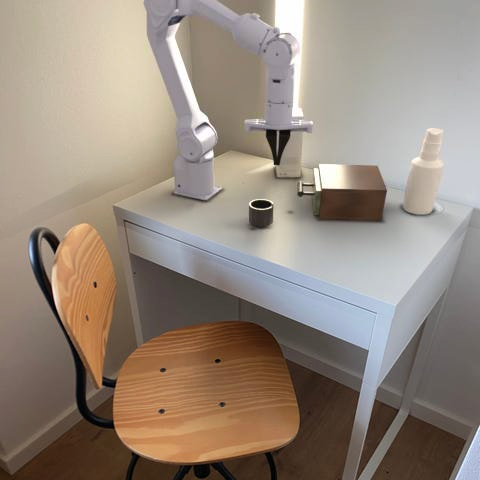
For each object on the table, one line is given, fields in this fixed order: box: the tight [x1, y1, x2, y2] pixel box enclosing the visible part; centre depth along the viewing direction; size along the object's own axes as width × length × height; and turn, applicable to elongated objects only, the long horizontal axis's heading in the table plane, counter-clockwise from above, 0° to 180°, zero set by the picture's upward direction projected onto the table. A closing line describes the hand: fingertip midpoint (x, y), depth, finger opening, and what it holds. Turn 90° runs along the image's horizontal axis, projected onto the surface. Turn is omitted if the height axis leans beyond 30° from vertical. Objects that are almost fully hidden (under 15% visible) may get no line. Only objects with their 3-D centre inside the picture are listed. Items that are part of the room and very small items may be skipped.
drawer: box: [296, 167, 322, 216], centre depth 118 cm, size 17×13×6 cm
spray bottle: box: [402, 127, 445, 216], centre depth 113 cm, size 7×7×18 cm
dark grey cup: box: [248, 198, 275, 229], centre depth 111 cm, size 5×5×5 cm
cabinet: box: [317, 163, 388, 222], centre depth 117 cm, size 14×14×7 cm
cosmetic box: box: [275, 107, 305, 178], centre depth 132 cm, size 8×7×16 cm
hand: (276, 163), depth 115 cm, fingers closed
